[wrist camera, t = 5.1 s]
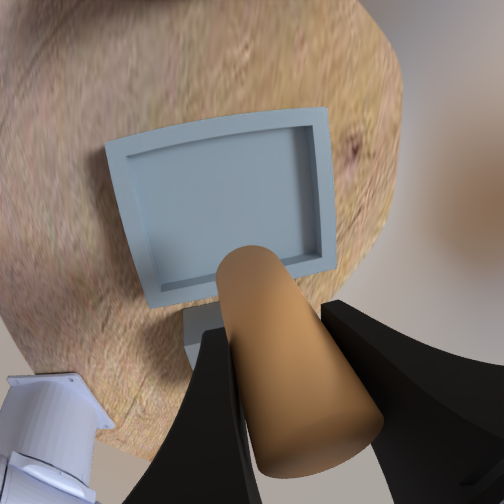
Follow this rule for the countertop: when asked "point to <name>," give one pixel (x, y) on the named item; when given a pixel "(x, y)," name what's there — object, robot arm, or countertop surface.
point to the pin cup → (199, 327)
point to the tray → (225, 197)
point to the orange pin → (290, 371)
